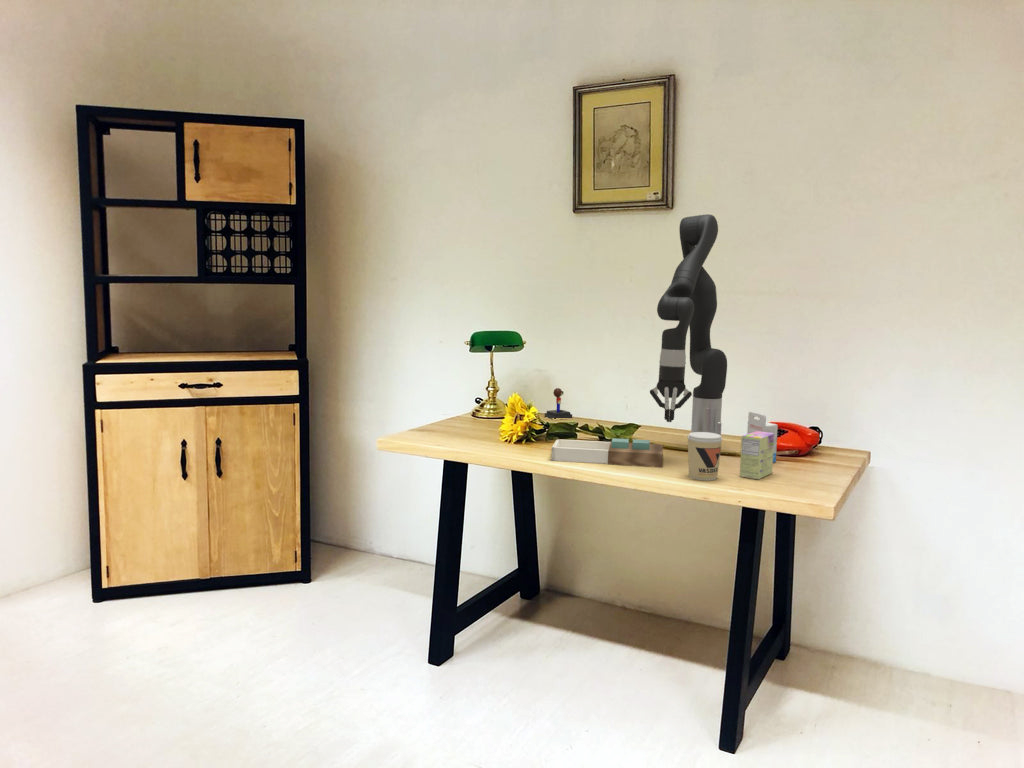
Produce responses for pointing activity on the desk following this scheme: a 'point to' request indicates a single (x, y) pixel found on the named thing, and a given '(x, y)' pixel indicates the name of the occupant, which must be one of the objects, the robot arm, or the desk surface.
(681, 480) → the desk surface
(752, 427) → the ink box
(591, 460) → the tray
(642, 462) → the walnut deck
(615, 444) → the tile
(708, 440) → the coffee cup
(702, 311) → the robot arm
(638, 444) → the tile
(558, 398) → the figurine
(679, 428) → the desk surface
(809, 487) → the desk surface
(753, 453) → the box
